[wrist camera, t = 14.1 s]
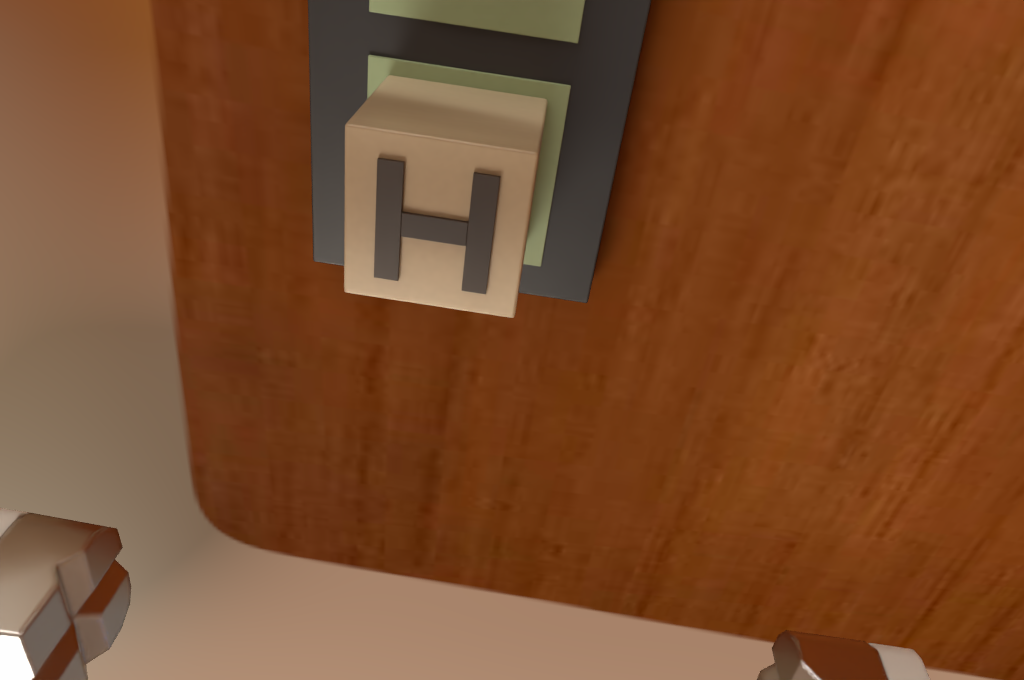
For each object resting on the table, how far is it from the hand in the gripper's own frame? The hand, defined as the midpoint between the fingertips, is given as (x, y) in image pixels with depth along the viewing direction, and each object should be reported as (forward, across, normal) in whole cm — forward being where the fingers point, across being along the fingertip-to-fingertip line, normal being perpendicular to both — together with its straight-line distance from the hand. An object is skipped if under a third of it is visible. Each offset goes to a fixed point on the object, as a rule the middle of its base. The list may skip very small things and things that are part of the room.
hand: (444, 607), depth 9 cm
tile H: (+13, +2, -1) cm, 13 cm away
